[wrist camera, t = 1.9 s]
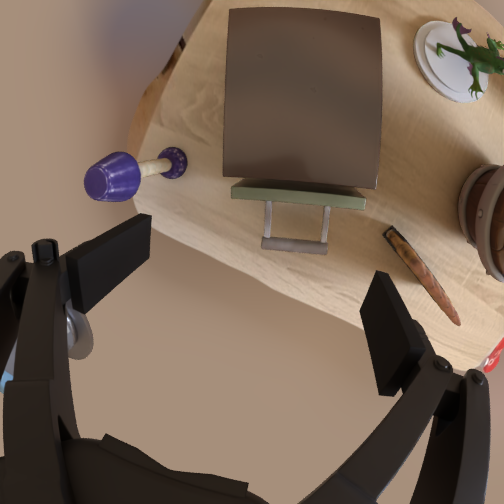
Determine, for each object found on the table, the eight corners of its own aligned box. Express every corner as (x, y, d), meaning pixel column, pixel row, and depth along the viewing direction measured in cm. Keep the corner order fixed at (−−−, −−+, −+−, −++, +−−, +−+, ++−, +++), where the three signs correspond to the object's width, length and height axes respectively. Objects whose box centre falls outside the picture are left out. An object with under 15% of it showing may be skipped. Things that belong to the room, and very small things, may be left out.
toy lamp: (181, 138, 34) (100, 144, 19) (198, 169, 35) (125, 194, 20) (153, 157, 35) (66, 175, 20) (168, 186, 37) (88, 221, 21)
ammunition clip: (433, 277, 35) (468, 324, 24) (423, 285, 36) (456, 335, 25) (391, 225, 34) (426, 262, 23) (381, 234, 34) (412, 275, 23)
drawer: (345, 241, 35) (355, 268, 27) (244, 232, 36) (230, 256, 29) (358, 68, 26) (373, 49, 19) (250, 61, 28) (236, 40, 21)
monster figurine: (465, 121, 26) (511, 120, 17) (398, 58, 25) (429, 33, 16) (494, 67, 22) (536, 57, 12) (433, 8, 21) (464, -20, 11)
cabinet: (356, 176, 32) (376, 189, 23) (243, 167, 34) (222, 176, 25) (361, 47, 26) (379, 18, 17) (247, 39, 28) (229, 8, 19)
